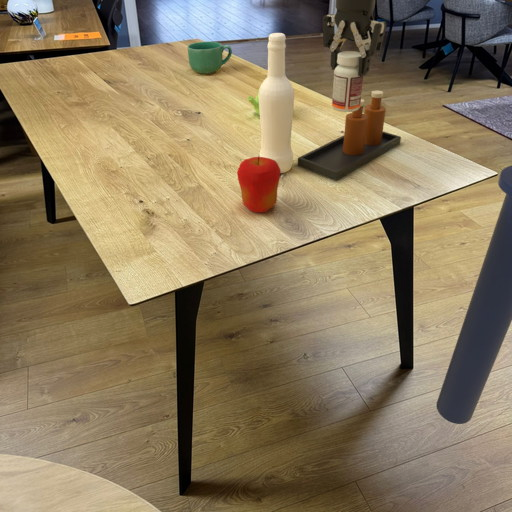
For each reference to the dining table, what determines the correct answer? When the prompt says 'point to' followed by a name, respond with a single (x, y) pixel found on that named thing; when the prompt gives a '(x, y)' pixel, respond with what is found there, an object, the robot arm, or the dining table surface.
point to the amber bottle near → (355, 132)
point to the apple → (259, 183)
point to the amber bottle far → (375, 119)
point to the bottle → (276, 107)
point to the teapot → (255, 102)
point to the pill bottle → (347, 82)
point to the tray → (344, 157)
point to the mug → (207, 56)
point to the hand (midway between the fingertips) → (348, 72)
